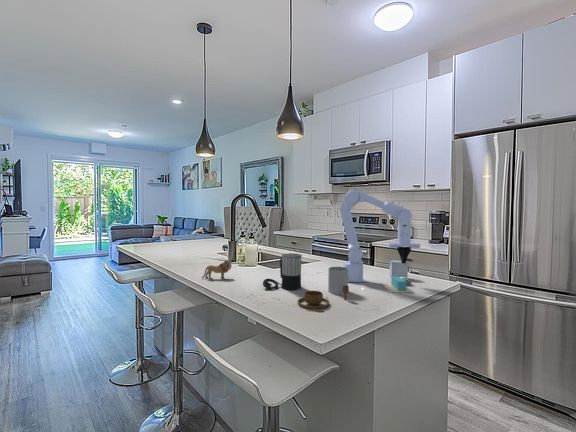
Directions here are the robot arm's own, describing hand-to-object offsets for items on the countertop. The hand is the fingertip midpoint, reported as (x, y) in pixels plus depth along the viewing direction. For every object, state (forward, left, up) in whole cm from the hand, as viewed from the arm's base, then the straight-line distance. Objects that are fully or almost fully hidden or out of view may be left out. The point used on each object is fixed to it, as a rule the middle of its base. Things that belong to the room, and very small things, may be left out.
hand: (403, 263), depth 152 cm
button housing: (0, 0, -10) cm, 10 cm away
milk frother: (-57, -7, -10) cm, 58 cm away
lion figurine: (-90, +11, -10) cm, 91 cm away
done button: (0, 0, -10) cm, 10 cm away
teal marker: (-5, -8, -10) cm, 13 cm away
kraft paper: (-6, -8, -10) cm, 14 cm away
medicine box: (+2, +12, -10) cm, 16 cm away
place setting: (-41, -30, -11) cm, 52 cm away
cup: (-33, -13, -10) cm, 37 cm away
